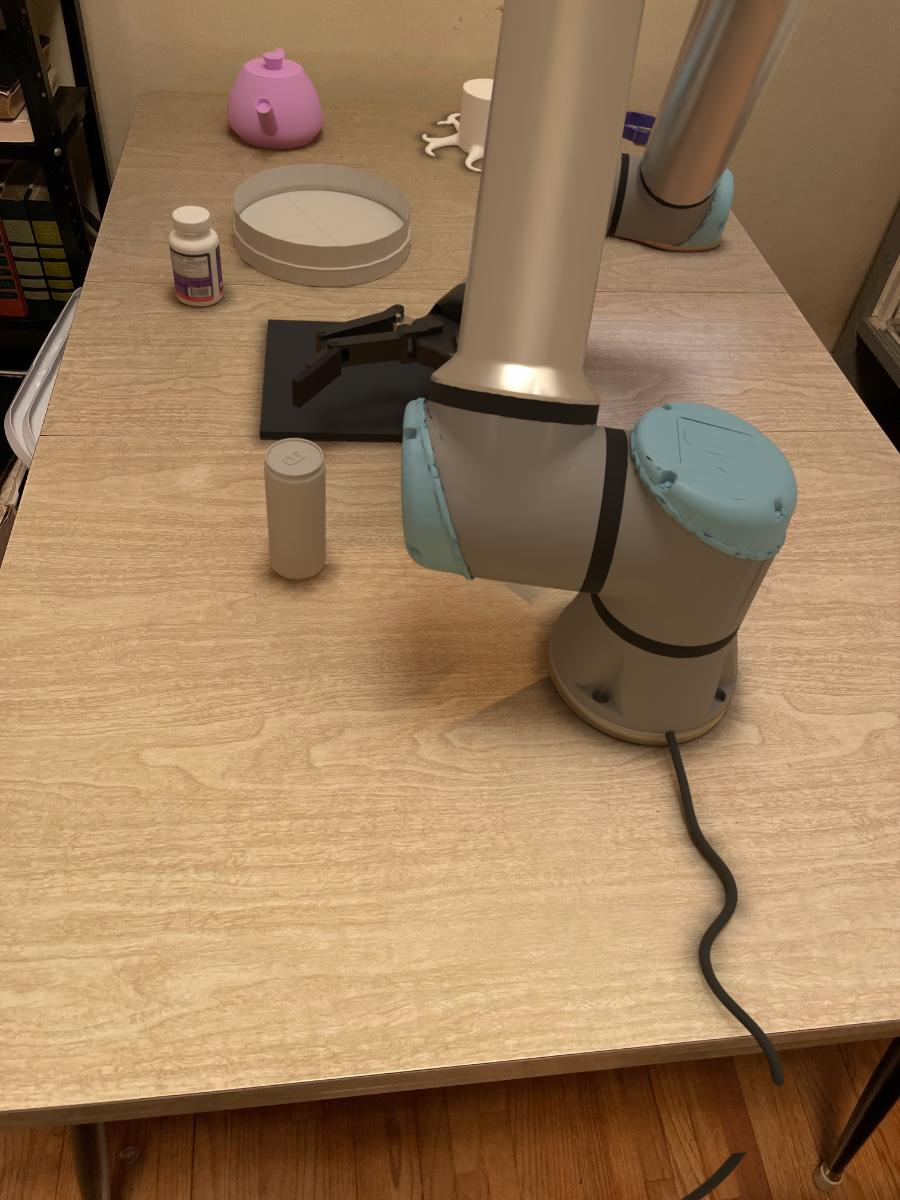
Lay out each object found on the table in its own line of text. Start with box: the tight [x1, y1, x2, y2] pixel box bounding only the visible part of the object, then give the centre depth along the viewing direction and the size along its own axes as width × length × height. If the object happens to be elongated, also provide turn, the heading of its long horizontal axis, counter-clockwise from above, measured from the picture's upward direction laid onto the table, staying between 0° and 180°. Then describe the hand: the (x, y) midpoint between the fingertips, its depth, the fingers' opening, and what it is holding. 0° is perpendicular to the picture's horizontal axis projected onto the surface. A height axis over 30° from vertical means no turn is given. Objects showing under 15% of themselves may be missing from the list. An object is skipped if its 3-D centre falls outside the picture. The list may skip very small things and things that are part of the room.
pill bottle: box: [168, 205, 224, 308], centre depth 107 cm, size 5×5×10 cm
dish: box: [232, 163, 412, 288], centre depth 120 cm, size 22×22×5 cm
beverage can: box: [263, 438, 327, 581], centre depth 79 cm, size 5×5×12 cm
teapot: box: [226, 47, 324, 150], centre depth 138 cm, size 14×20×11 cm
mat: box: [259, 318, 436, 443], centre depth 102 cm, size 20×20×1 cm
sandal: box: [622, 110, 723, 253], centre depth 126 cm, size 8×20×15 cm, turn 78°
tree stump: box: [421, 78, 494, 173], centre depth 143 cm, size 20×19×8 cm
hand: (360, 423), depth 83 cm, fingers open, 13 cm apart
